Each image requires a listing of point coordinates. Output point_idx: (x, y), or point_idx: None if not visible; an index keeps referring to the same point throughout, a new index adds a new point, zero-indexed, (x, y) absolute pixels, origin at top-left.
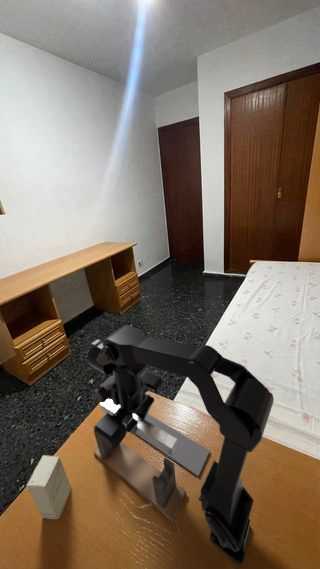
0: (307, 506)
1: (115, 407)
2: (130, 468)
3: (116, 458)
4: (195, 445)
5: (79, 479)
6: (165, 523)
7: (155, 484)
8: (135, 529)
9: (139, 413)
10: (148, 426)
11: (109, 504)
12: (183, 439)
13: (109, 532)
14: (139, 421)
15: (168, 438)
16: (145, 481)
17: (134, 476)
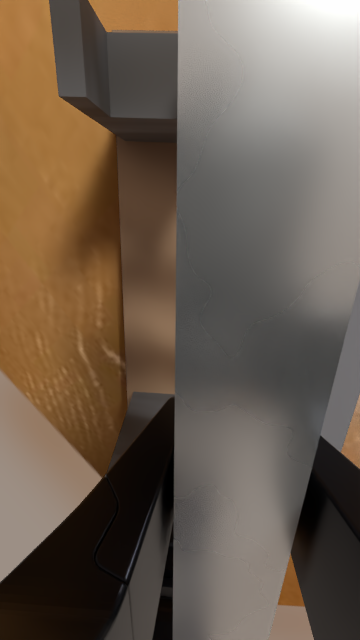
0: (296, 599)
1: (293, 121)
2: (159, 269)
3: (155, 186)
4: (340, 419)
5: (9, 77)
6: (119, 416)
7: None
8: (62, 363)
9: (324, 568)
10: (232, 626)
11: (47, 263)
12: (347, 379)
13: (9, 308)
14: (239, 558)
15: None
16: (156, 341)
17: (146, 300)
